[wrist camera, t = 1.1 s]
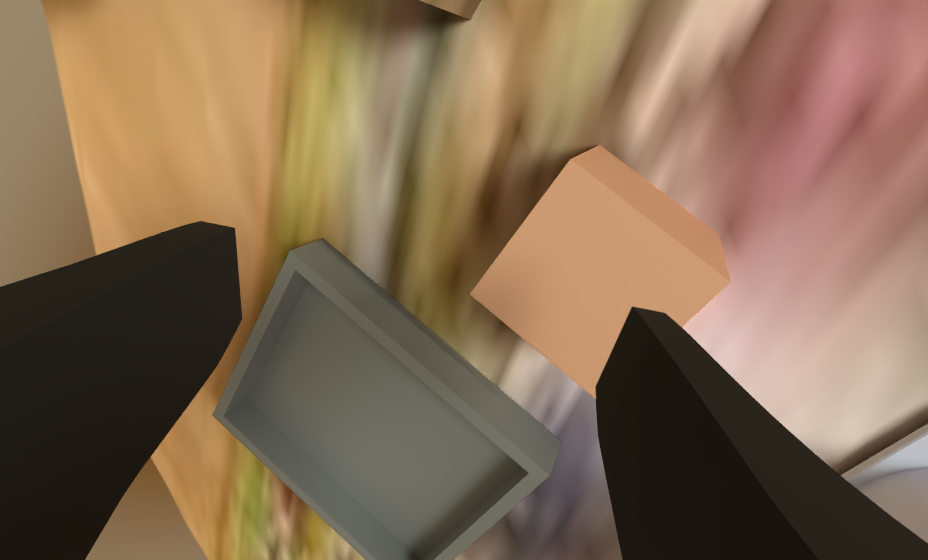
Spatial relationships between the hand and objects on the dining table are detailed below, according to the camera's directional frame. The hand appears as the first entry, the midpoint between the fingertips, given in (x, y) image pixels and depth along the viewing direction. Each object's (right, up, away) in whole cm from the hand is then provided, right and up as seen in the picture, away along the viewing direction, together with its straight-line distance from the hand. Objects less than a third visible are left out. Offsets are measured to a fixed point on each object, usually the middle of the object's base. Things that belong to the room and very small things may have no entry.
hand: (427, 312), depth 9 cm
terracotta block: (+6, +2, +9) cm, 11 cm away
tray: (-4, -6, +16) cm, 17 cm away
